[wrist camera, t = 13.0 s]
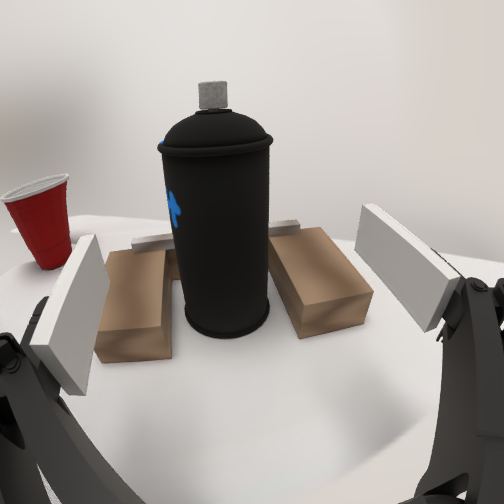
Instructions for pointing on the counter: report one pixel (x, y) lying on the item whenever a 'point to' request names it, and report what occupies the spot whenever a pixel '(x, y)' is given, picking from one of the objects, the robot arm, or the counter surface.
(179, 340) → the counter surface
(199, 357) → the counter surface
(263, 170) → the aerosol can
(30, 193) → the plastic cup
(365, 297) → the cutout stand
